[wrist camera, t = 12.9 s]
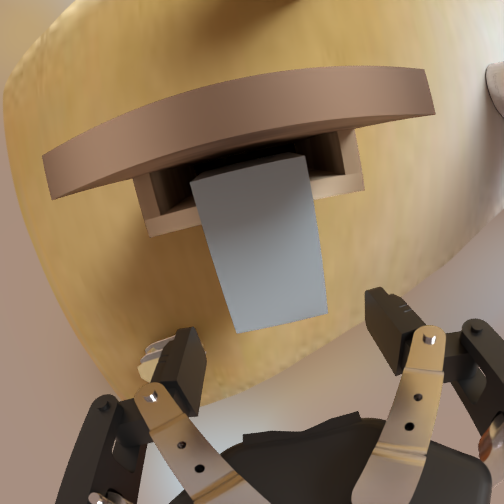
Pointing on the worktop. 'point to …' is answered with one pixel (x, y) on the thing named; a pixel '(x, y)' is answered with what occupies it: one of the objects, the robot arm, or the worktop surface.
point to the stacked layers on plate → (152, 358)
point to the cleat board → (238, 134)
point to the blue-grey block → (263, 240)
